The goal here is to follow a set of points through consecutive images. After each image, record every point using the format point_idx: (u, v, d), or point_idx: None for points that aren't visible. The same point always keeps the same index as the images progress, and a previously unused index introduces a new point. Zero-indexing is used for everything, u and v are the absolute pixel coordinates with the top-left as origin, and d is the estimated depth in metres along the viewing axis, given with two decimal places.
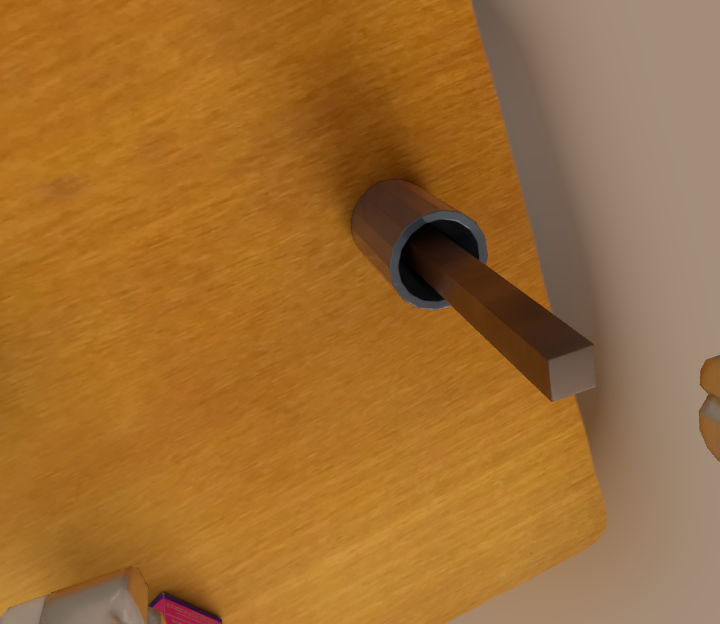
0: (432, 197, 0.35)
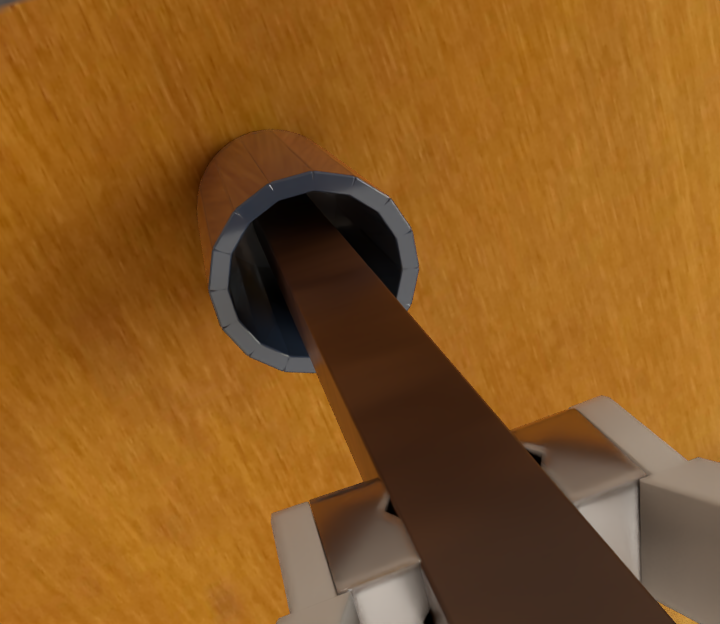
0: (204, 226, 0.18)
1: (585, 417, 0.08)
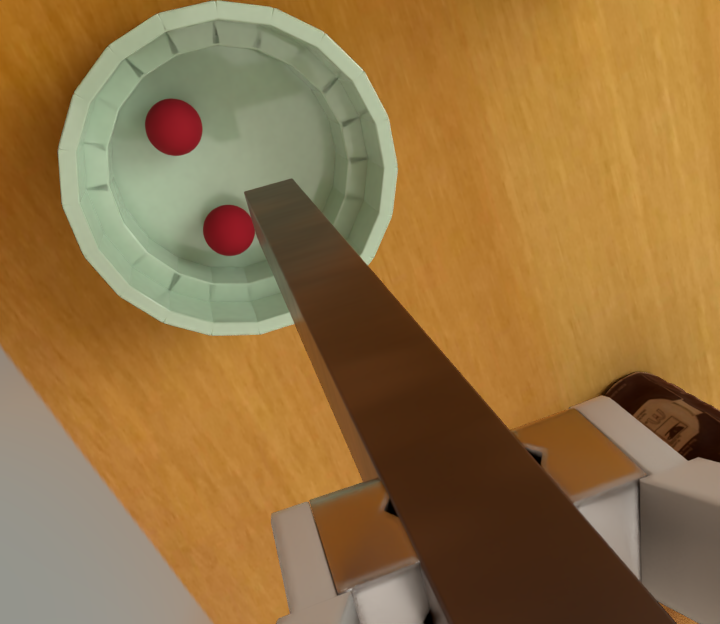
0: None
1: (585, 417, 0.08)
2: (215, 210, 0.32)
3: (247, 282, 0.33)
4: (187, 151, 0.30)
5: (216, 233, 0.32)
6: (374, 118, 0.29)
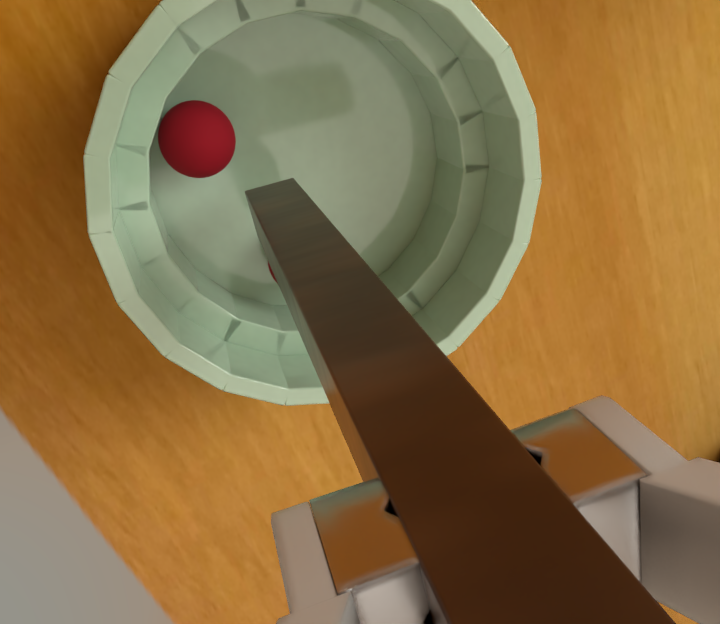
0: None
1: (585, 417, 0.08)
2: None
3: None
4: (196, 177, 0.22)
5: None
6: (517, 112, 0.21)
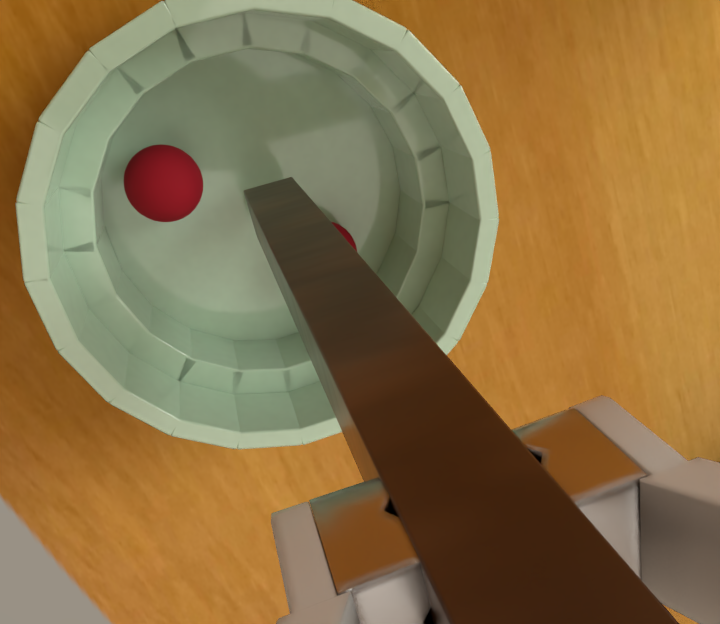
0: None
1: (585, 417, 0.08)
2: None
3: (284, 367, 0.24)
4: None
5: (339, 225, 0.25)
6: (471, 151, 0.20)
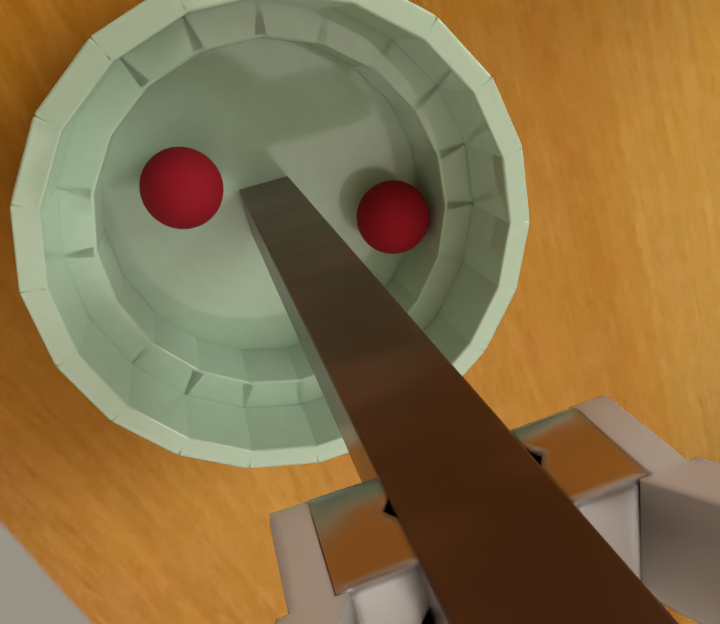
0: None
1: (585, 417, 0.08)
2: (364, 197, 0.22)
3: (297, 378, 0.23)
4: None
5: None
6: (501, 149, 0.19)
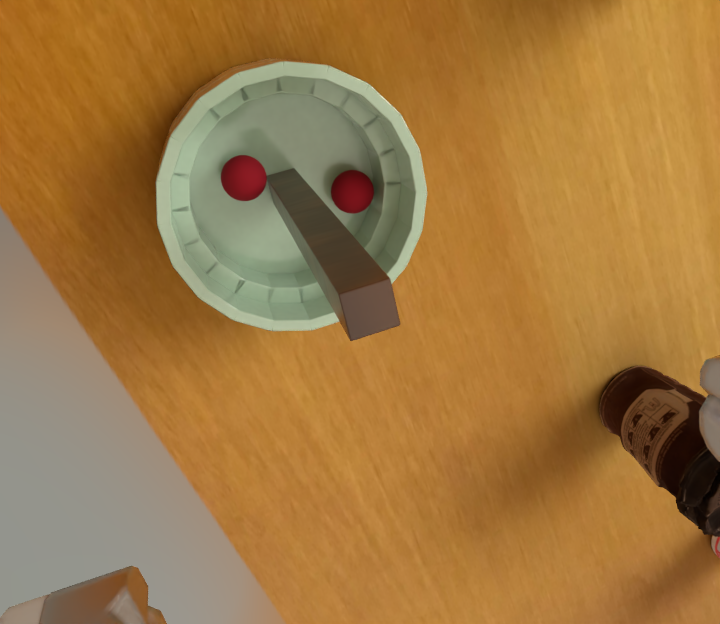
0: None
1: None
2: None
3: (299, 287, 0.39)
4: None
5: None
6: (408, 151, 0.35)
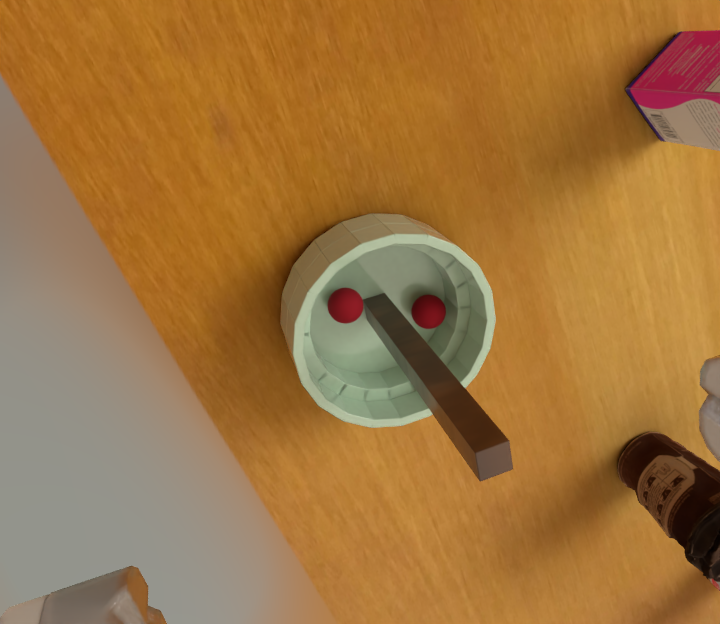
0: None
1: None
2: (415, 301, 0.48)
3: (388, 387, 0.49)
4: None
5: None
6: (483, 292, 0.44)
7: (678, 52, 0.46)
